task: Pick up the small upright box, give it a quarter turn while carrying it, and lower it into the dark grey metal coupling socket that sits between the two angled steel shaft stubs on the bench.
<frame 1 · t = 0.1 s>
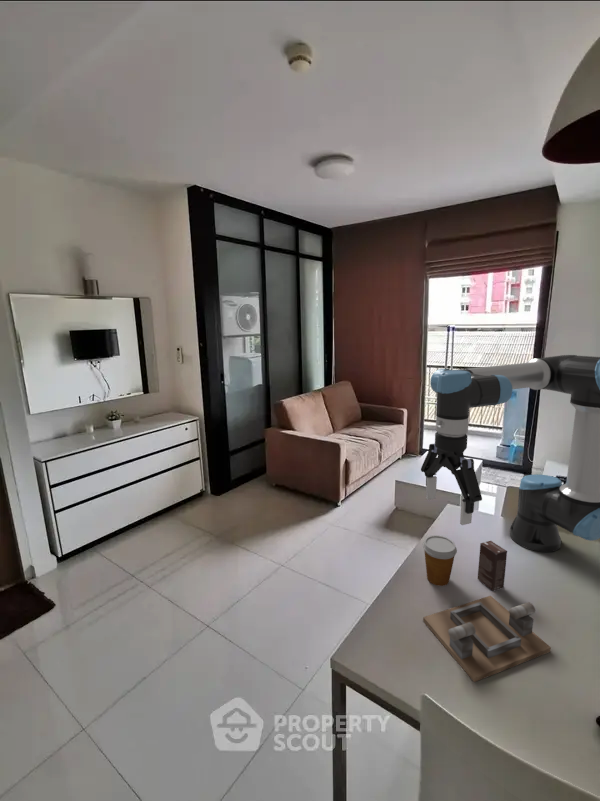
hand: (447, 510, 99), 28 cm above the table, fingers open, 13 cm apart
box: (490, 584, 111), on the table
disposable coffee cup: (437, 579, 114), on the table
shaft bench: (483, 635, 93), on the table
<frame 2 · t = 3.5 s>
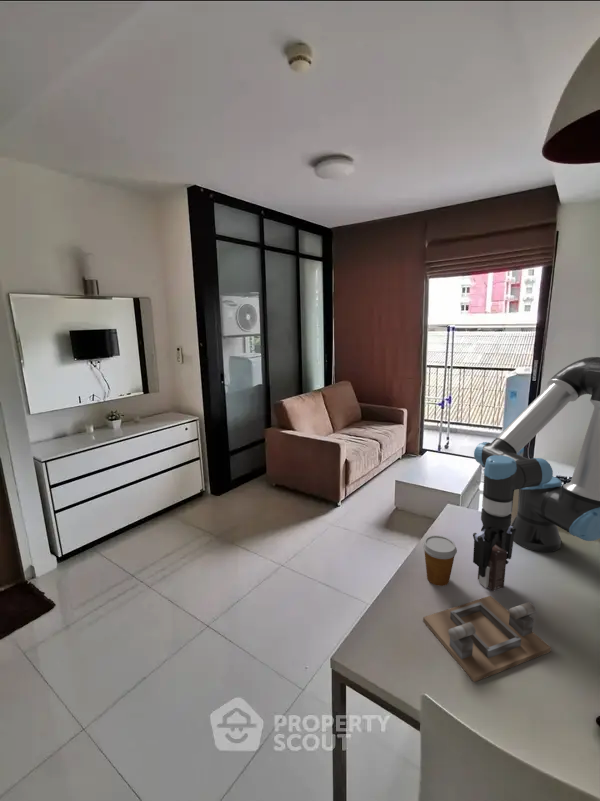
hand: (490, 582, 111), 0 cm above the table, fingers closed on box, 4 cm apart
box: (490, 583, 111), on the table, touching gripper
everything else where it was.
when the fingers open (3 cm above the table, at t = 8.1 s): box drops 2 cm, resting on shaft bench.
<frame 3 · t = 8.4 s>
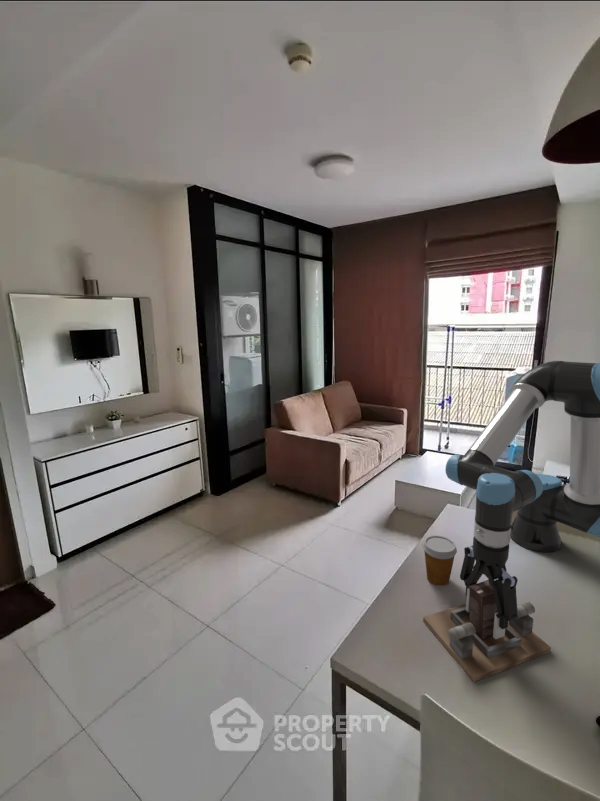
hand: (484, 622, 93), 4 cm above the table, fingers open, 8 cm apart
box: (483, 631, 93), point 1 cm above the table, touching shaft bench
everything else where it was.
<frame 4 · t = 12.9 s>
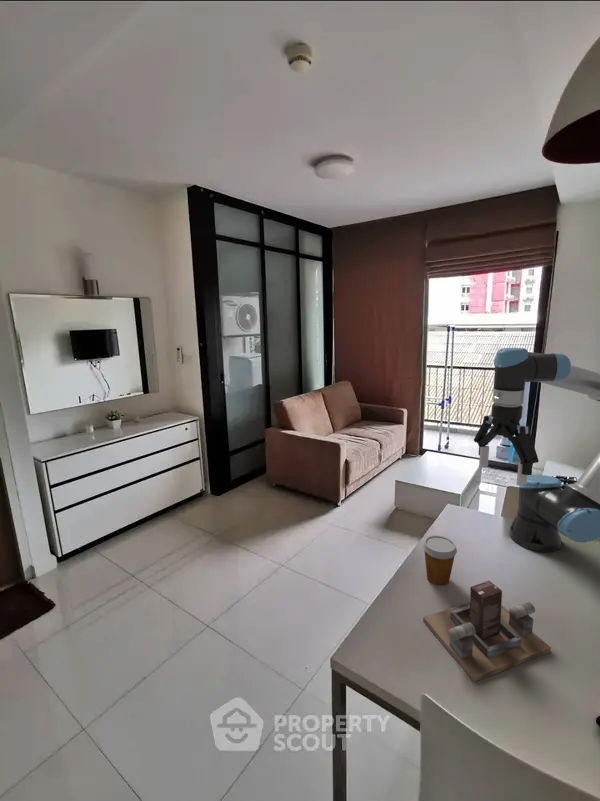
hand: (501, 475, 110), 32 cm above the table, fingers open, 13 cm apart
nothing on the table moved.
at the end: box inside the target area on the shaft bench (0.2 cm from its centre), point 1.0 cm above the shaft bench's base; box tilted 0°; the gripper is holding nothing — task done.
